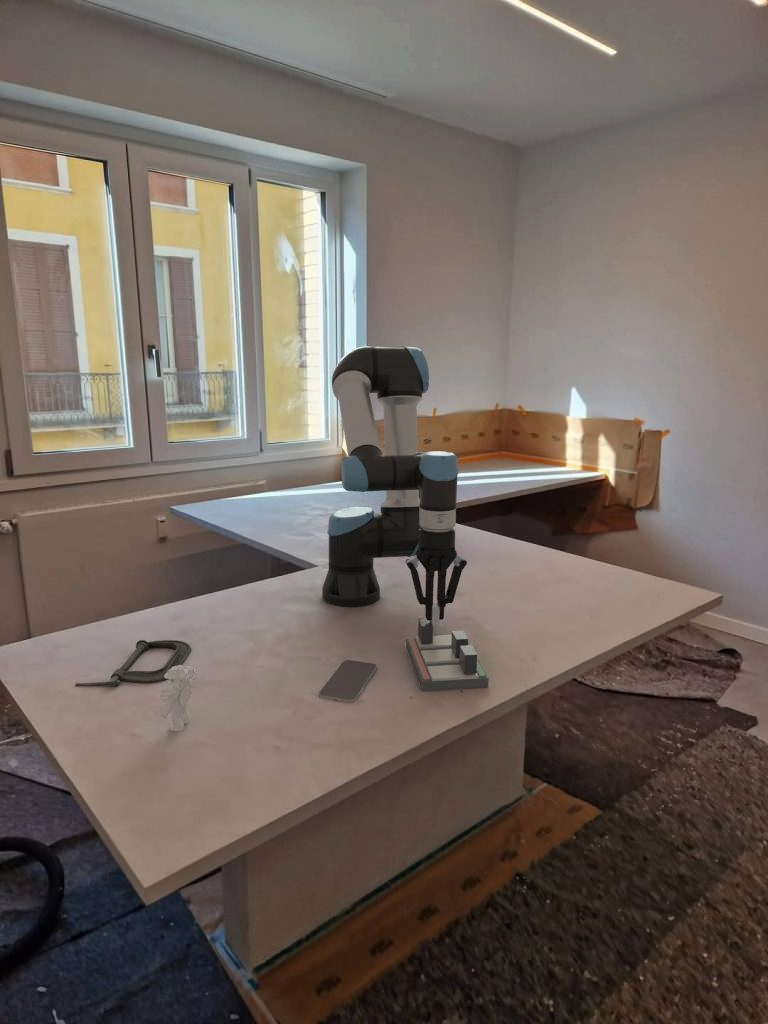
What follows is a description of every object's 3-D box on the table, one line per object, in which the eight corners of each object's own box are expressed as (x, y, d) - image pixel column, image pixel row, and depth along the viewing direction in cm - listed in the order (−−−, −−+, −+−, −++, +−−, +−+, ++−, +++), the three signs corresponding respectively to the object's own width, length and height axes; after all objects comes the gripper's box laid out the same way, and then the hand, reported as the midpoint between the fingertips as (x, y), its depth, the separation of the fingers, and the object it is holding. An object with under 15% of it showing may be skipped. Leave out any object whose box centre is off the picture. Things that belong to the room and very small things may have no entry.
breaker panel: (421, 691, 124) (422, 679, 124) (405, 647, 143) (406, 636, 142) (488, 687, 126) (488, 675, 125) (463, 644, 144) (464, 633, 144)
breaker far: (421, 643, 138) (421, 626, 137) (418, 635, 142) (418, 618, 141) (432, 643, 138) (433, 625, 137) (428, 635, 142) (429, 618, 141)
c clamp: (161, 694, 124) (159, 681, 123) (74, 689, 125) (73, 676, 125) (201, 647, 143) (200, 636, 142) (126, 643, 145) (125, 632, 144)
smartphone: (316, 694, 122) (344, 658, 136) (316, 699, 122) (344, 662, 136) (353, 701, 120) (378, 664, 134) (353, 705, 120) (378, 668, 134)
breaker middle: (455, 657, 132) (456, 639, 131) (451, 648, 136) (451, 631, 135) (467, 656, 132) (468, 638, 131) (462, 648, 136) (463, 630, 135)
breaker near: (464, 674, 125) (464, 655, 124) (459, 664, 129) (459, 645, 128) (476, 673, 126) (477, 654, 125) (471, 663, 129) (471, 645, 128)
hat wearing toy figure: (178, 740, 108) (173, 674, 105) (156, 737, 109) (150, 672, 106) (203, 712, 117) (199, 650, 114) (183, 709, 117) (178, 648, 114)
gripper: (409, 533, 130) (407, 642, 136) (472, 531, 132) (468, 639, 137) (403, 523, 137) (401, 627, 143) (463, 521, 139) (459, 624, 145)
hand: (434, 633), depth 140 cm, fingers closed
